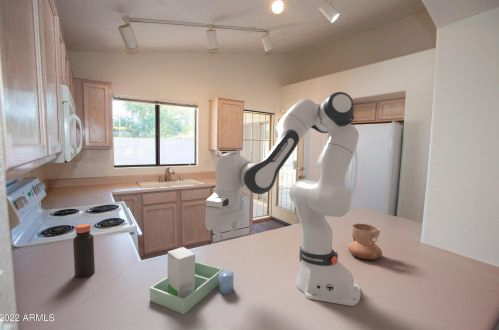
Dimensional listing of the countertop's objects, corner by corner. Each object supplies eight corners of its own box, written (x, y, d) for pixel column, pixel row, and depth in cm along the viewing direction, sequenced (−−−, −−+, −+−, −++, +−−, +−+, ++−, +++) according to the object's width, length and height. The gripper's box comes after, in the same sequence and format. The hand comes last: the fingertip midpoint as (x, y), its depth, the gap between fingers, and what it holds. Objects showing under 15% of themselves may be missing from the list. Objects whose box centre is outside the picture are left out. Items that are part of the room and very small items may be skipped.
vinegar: (98, 272, 101) (96, 224, 99) (80, 280, 95) (77, 229, 93) (89, 268, 104) (87, 222, 103) (71, 275, 98) (69, 226, 97)
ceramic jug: (390, 263, 109) (391, 232, 108) (359, 264, 108) (360, 232, 107) (367, 248, 127) (368, 221, 126) (340, 248, 126) (341, 221, 125)
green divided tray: (223, 280, 95) (223, 269, 95) (184, 314, 75) (183, 300, 75) (193, 271, 102) (193, 260, 101) (149, 300, 82) (149, 287, 82)
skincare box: (167, 294, 86) (166, 251, 85) (184, 287, 90) (183, 245, 89) (178, 305, 80) (178, 259, 79) (196, 296, 84) (195, 253, 83)
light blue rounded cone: (236, 288, 90) (236, 272, 89) (228, 296, 85) (228, 279, 85) (224, 284, 92) (224, 269, 92) (216, 292, 87) (216, 275, 87)
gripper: (234, 192, 98) (233, 226, 99) (202, 201, 80) (201, 242, 81) (248, 194, 95) (247, 229, 96) (218, 203, 77) (217, 246, 78)
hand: (226, 235), depth 88 cm, fingers open, 8 cm apart
